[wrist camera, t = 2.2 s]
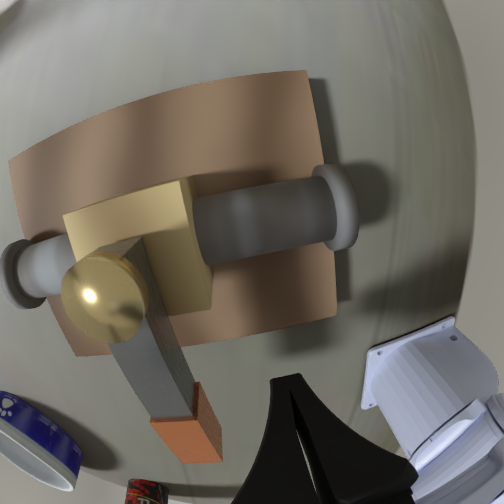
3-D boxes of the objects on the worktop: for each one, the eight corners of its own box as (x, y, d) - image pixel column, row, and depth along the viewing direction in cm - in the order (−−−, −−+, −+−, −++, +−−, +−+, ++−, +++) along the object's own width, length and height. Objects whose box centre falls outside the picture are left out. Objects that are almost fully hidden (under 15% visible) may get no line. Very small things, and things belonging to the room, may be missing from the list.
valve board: (298, 77, 13) (335, 42, 8) (329, 303, 17) (363, 354, 12) (21, 159, 12) (-35, 166, 7) (83, 344, 17) (54, 393, 12)
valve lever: (90, 240, 9) (48, 269, 6) (151, 224, 9) (123, 251, 6) (181, 431, 13) (177, 473, 10) (226, 427, 13) (228, 471, 10)
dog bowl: (22, 441, 23) (11, 466, 17) (-23, 375, 18) (-43, 402, 12) (98, 470, 24) (91, 502, 19) (57, 409, 20) (38, 450, 14)
